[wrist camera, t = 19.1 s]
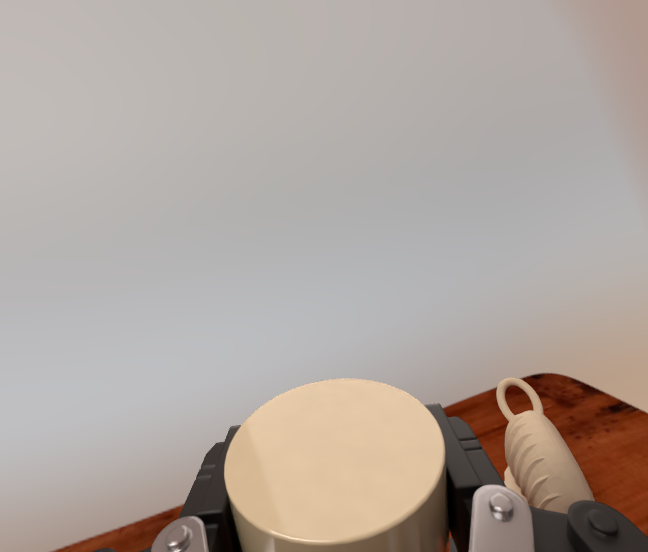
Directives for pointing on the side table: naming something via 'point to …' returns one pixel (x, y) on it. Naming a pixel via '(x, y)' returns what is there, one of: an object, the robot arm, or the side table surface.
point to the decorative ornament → (539, 457)
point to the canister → (339, 472)
